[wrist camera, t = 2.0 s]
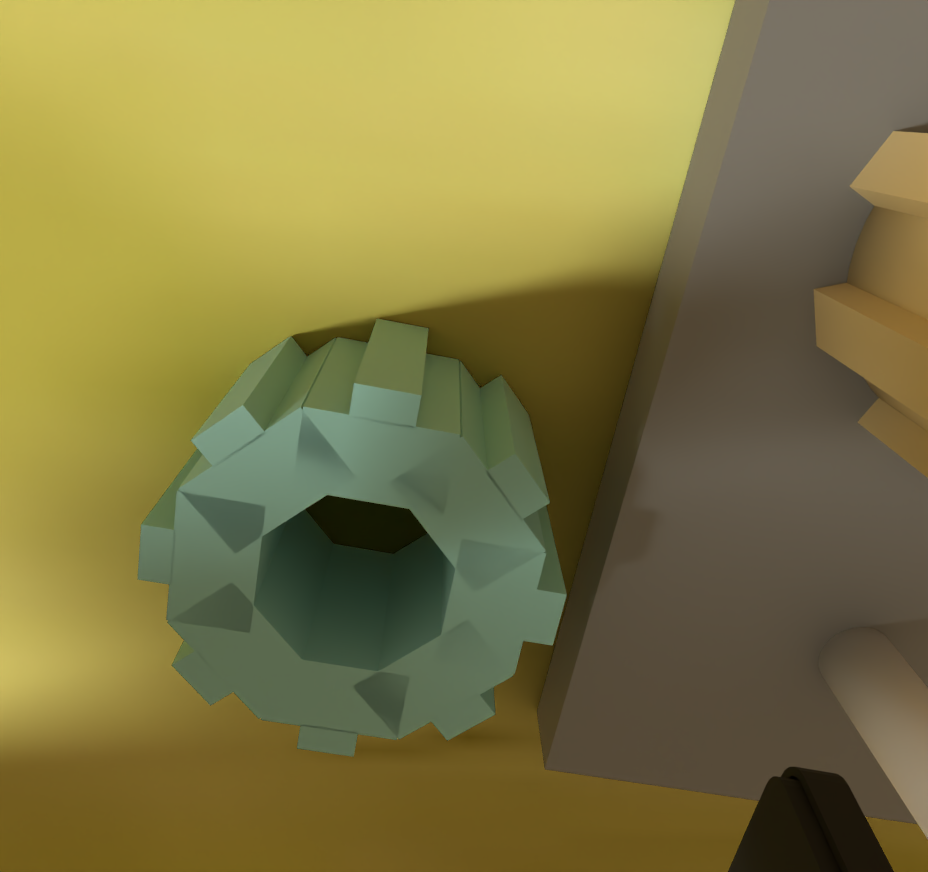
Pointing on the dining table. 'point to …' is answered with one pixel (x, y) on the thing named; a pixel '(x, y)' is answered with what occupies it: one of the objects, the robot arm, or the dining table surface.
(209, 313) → the dining table surface
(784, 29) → the gear board
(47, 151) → the dining table surface
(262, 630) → the teal gear
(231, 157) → the dining table surface
